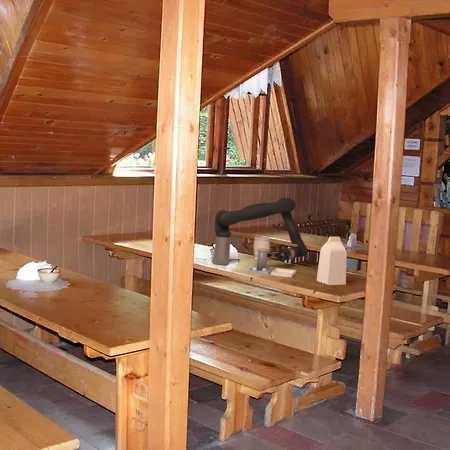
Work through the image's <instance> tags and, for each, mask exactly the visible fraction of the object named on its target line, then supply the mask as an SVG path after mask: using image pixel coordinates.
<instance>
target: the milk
mask: <svg viewBox="0 0 450 450" xmlns="http://www.w3.org/2000/svg"><path fill="white" fill-rule="evenodd" d="M319 252H320V253H319V257H318V260H319V261H318V267H317V275H316V281H317V282H319V283H321V282H322V283H321V284H324V283H325V284H324V285H326V284H327V285H326V286H334V285H335V286H336V285H337V286H339V285H347V255H348V254H347V250H346V248H345V246H344V244H343V242H342V240H341V237H340V236H329V238H328V240H327V241H326V242H325V243H324V244H323V245H322V247H321V248H320V251H319Z"/></svg>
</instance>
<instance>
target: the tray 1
mask: <svg viewBox="0 0 450 450" xmlns="http://www.w3.org/2000/svg"><path fill="white" fill-rule="evenodd" d="M253 267H256V268H257V265H253V266H252V267H250V268H248V273H250V274H259V275H267V276H268V275H271V272H272V271H273V270H275V268H274V267H271V266H270V267H269V266H266V269H267V272H266V271H257V270H252V268H253Z"/></svg>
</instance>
